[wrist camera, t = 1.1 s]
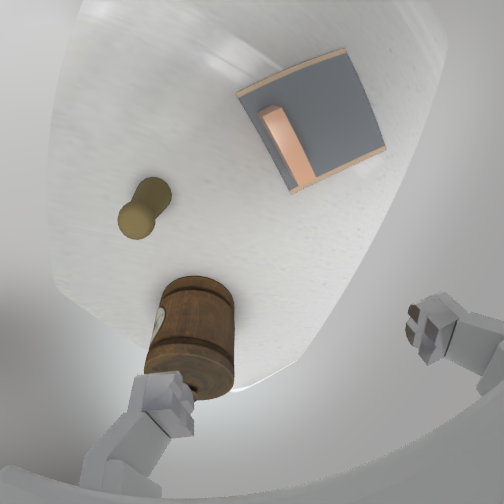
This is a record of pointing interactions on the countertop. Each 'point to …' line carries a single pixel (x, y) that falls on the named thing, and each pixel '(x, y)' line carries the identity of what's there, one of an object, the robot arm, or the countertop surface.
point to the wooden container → (195, 336)
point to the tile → (287, 144)
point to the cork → (144, 208)
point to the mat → (318, 114)
